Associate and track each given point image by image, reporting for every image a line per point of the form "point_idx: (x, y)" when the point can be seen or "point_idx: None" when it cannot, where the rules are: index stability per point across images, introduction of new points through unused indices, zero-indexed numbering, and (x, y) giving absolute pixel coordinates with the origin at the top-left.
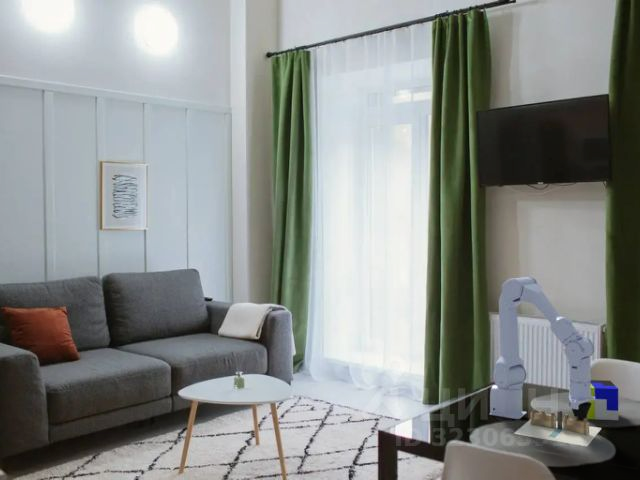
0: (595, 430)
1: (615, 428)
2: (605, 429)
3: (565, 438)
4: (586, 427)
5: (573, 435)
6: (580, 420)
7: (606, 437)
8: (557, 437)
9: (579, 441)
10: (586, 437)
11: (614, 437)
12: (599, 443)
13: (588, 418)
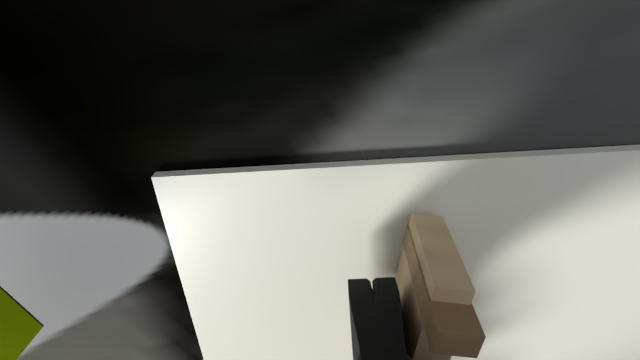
0: (257, 200)
1: (30, 80)
2: (131, 146)
3: (588, 315)
4: (459, 267)
5: (489, 292)
6: (414, 357)
7: (356, 77)
8: (583, 354)
9: (630, 225)
10: (493, 209)
11: (311, 10)
12: (572, 83)
13: (5, 312)
